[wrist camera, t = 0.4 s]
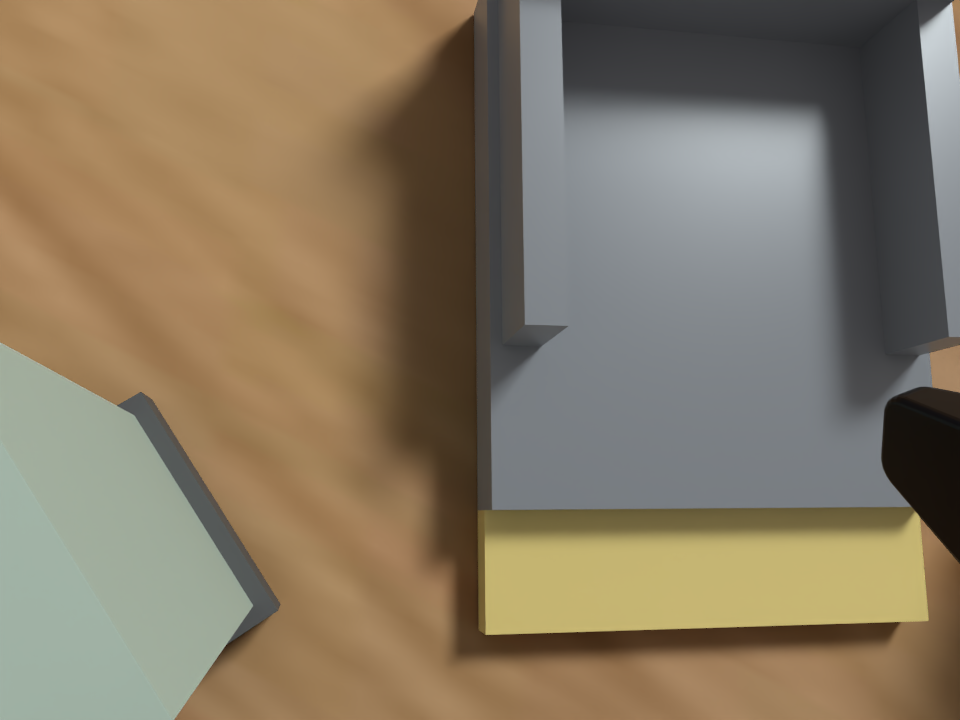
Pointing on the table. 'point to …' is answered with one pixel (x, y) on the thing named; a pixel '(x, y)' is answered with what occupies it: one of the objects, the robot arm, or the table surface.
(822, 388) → the dock
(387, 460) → the table surface
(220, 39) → the table surface
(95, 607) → the pale green tall block
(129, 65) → the table surface
